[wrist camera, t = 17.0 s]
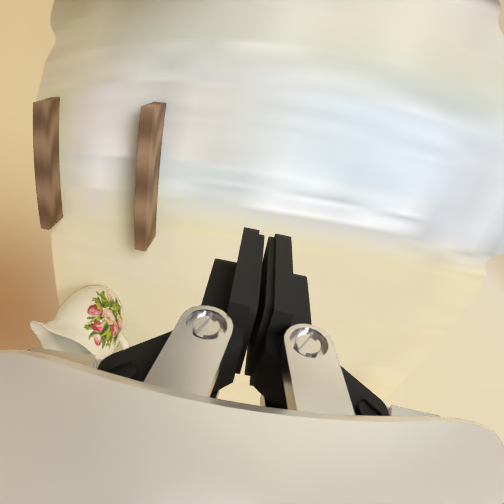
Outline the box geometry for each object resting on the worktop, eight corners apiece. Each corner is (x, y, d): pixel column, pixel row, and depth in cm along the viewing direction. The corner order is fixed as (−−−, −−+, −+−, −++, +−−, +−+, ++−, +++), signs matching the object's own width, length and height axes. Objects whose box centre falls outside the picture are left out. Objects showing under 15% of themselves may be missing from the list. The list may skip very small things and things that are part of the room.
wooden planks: (51, 97, 33) (33, 102, 30) (166, 103, 34) (154, 107, 30) (55, 215, 43) (41, 228, 39) (155, 235, 43) (145, 251, 40)
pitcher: (121, 345, 57) (96, 403, 45) (57, 276, 49) (16, 330, 37) (161, 331, 53) (138, 396, 42) (92, 252, 46) (47, 311, 34)
